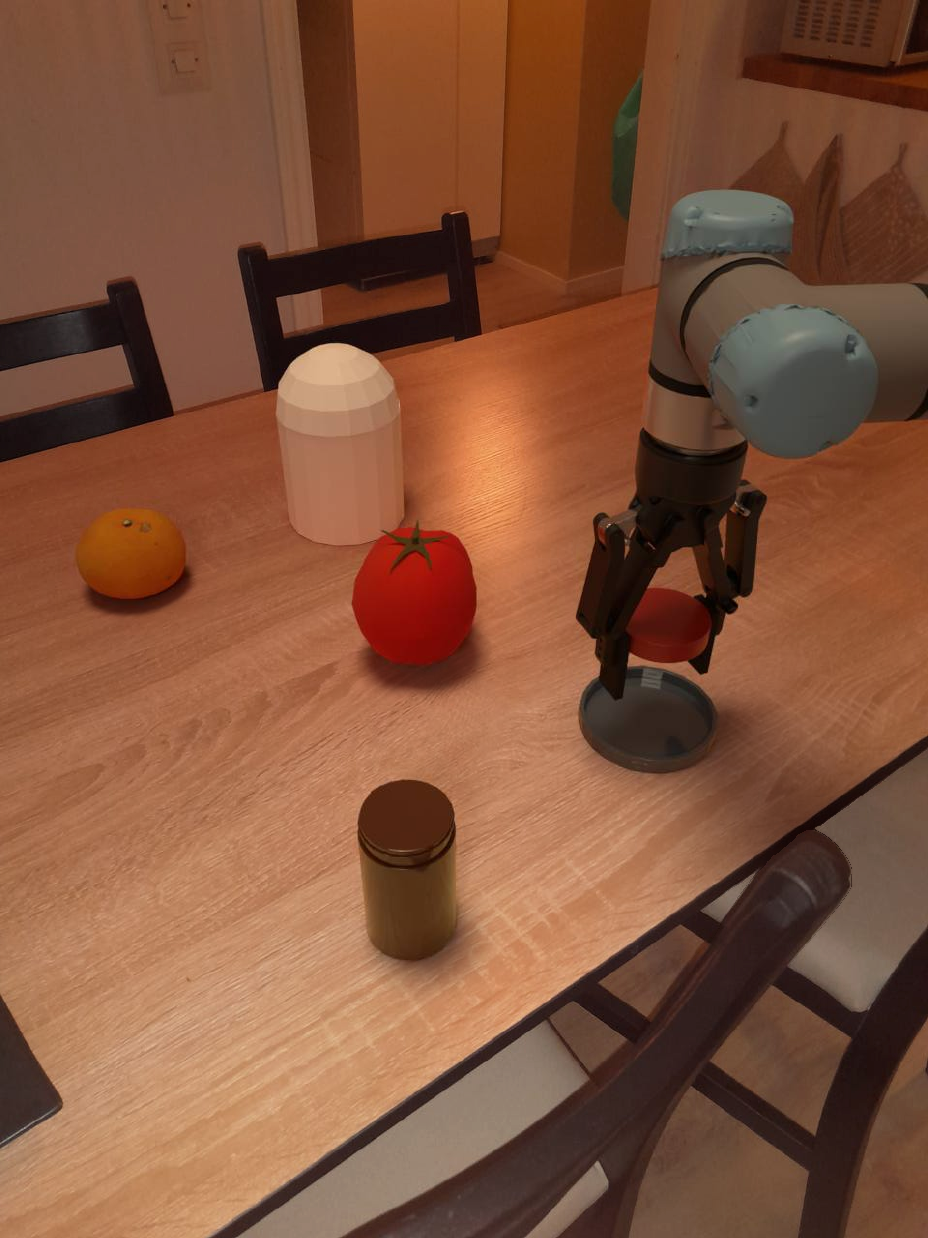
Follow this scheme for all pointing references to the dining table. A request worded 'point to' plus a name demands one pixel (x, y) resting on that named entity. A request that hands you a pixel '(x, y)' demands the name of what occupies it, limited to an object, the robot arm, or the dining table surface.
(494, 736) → the dining table surface
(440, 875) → the jar
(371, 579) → the tomato
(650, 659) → the lid
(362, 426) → the container
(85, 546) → the fruit
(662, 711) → the saucer
